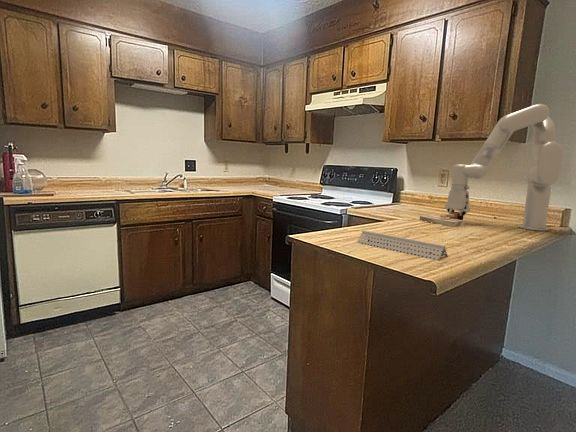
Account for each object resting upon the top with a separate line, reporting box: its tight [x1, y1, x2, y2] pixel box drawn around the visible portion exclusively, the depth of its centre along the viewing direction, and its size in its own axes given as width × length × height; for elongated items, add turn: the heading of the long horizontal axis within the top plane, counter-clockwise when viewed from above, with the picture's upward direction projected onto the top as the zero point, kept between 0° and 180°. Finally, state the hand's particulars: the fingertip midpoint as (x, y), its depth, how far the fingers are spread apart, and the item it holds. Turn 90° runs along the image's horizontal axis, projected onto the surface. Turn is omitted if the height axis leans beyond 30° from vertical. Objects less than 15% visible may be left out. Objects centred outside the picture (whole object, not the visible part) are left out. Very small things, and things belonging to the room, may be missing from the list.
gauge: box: [439, 211, 459, 219], centre depth 185 cm, size 15×4×6 cm, turn 121°
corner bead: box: [356, 230, 449, 262], centre depth 125 cm, size 31×9×5 cm, turn 44°
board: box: [419, 214, 467, 228], centre depth 186 cm, size 10×20×3 cm, turn 32°
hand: (455, 222), depth 188 cm, fingers closed on gauge, 4 cm apart
